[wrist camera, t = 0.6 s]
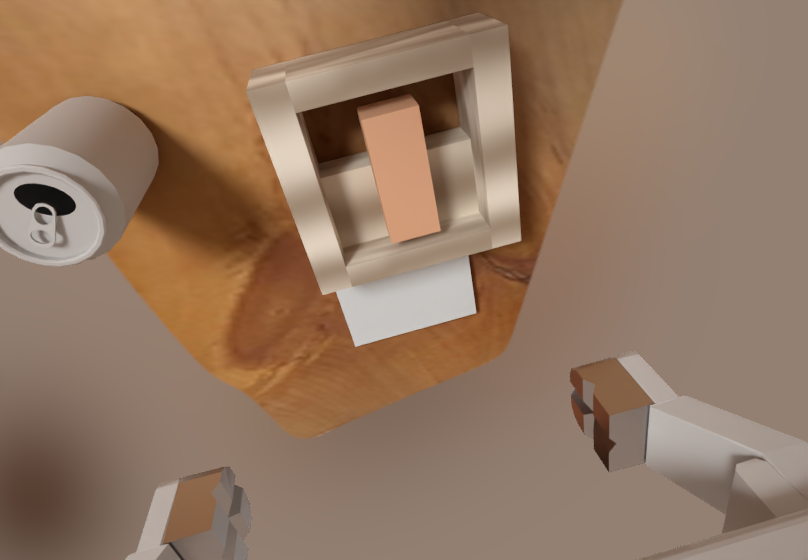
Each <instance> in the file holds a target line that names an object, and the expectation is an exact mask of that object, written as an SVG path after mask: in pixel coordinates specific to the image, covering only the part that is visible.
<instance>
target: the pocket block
mask: <svg viewBox="0 0 808 560" xmlns="http://www.w3.org/2000/svg"><path fill="white" fill-rule="evenodd" d="M450 73H453V78H454V86H455V93H456V101H457V109H458V117H459V124H460V127H457V128H453V129H449V130H445V131H442V132H438V133H434V134H430V135H426V136H424V138H425V144H426V149H427V155H428V161H429V166H430V172H431V178H432V184H433V189H434V195H435V201H436V207H437V212H438V218H439V224H440V229H441V231H438V232H434V233H431V234H427V235H423V236H420V237H416V238H412V239H409V240H405V241H401V242H397V243H394V244H392V243H391V240H390V237H389V234H388V231H387V228H386V224H385V220H384V216H383V212H382V208H381V204H380V200H379V196H378V192H377V188H376V184H375V180H374V176H373V172H372V168H371V164H370V160H369V156H368V152H367V151H365V152H362V153H358V154H354V155H350V156H346V157H342V158H339V159H335V160H331V161H327V162H323V163H320V164H318V161H317V158H316V155H315V151H314V148H313V145H312V142H311V139H310V136H309V133H308V129H307V126H306V123H305V120H304V117H303V114H302V111H306V110H310V109H314V108H318V107H322V106H326V105H330V104H333V103H337V102H341V101H345V100H349V99H353V98H357V97H361V96H364V95H368V94H372V93H376V92H380V91H384V90H388V89H391V88H395V87H399V86H403V85H407V84H411V83H415V82H419V81H422V80H426V79H430V78H434V77H438V76H442V75H446V74H450ZM246 93H247V96H248V98H249V101H250V104H251V106H252V109H253V112H254V114H255V117H256V120H257V122H258V125H259V128H260V130H261V133H262V136H263V138H264V141H265V144H266V146H267V149H268V151H269V154H270V157H271V159H272V162H273V165H274V167H275V170H276V173H277V175H278V178H279V181H280V183H281V186H282V189H283V191H284V194H285V197H286V199H287V202H288V204H289V207H290V210H291V212H292V215H293V218H294V220H295V223H296V226H297V228H298V231H299V234H300V236H301V239H302V242H303V244H304V247H305V250H306V252H307V255H308V257H309V260H310V263H311V265H312V268H313V271H314V273H315V276H316V279H317V281H318V284H319V287H320V289H321V292H322V295H325V294H328V293H332V292H336V291H339V290H343V289H347V288H350V287H354V286H358V285H361V284H365V283H369V282H372V281H376V280H380V279H383V278H387V277H391V276H394V275H398V274H402V273H405V272H409V271H413V270H416V269H420V268H424V267H427V266H431V265H435V264H438V263H442V262H446V261H449V260H453V259H457V258H460V257H464V256H468V255H471V254H475V253H479V252H482V251H486V250H490V249H493V248H497V247H501V246H504V245H508V244H512V243H515V242H519V241H521V227H520V211H519V194H518V178H517V162H516V145H515V129H514V112H513V96H512V80H511V63H510V47H509V30H508V24H505V23H503V22H501V21H498V20H496V19H494V18H491V17H489V16H487V15H484V14H482V13H480V12H478V13H474V14H470V15H466V16H462V17H459V18H455V19H451V20H447V21H443V22H439V23H435V24H431V25H427V26H423V27H419V28H415V29H411V30H407V31H403V32H399V33H396V34H392V35H388V36H384V37H380V38H376V39H372V40H368V41H364V42H360V43H356V44H352V45H348V46H344V47H340V48H336V49H333V50H329V51H325V52H321V53H317V54H313V55H309V56H305V57H301V58H297V59H293V60H289V61H285V62H281V63H277V64H273V65H270V66H266V67H262V68H258V69H254V70H252V71H251V75H250V79H249V82H248V86H247V90H246Z"/></svg>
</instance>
